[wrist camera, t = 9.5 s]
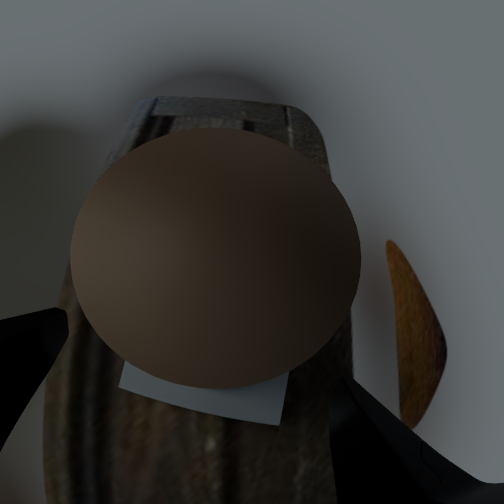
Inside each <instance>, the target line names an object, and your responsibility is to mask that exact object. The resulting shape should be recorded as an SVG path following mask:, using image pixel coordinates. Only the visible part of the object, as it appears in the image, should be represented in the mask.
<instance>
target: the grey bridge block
mask: <svg viewBox="0 0 504 504" xmlns="http://www.w3.org/2000/svg"><path fill="white" fill-rule="evenodd" d="M288 375H289V371H288V372H286V373H284V374H282V375H280V376H278V377H275V378H273V379H271V380H267V381H264V382H260V383H257V384H253V385H250V386H244V387H236V388H228V389H207V388H195V387H189V386H184V385H179V384H174V383H171V382H168V381H165V380H163V379H160V378H157V377H154V376H152V375H150V374H148V373H146V372H144V371H142V370H140V369H138V368H137V367H135V366H133V365H131V364H130V363H129V362H127V361H126V360H125V364H124V368H123V372H122V376H121V380H120V384H119V387H120V388H123V389H126V390H128V391H131V392H134V393H137V394H140V395H143V396H146V397H149V398H153V399H156V400H159V401H163V402H166V403H169V404H173V405H177V406H180V407H184V408H188V409H192V410H196V411H200V412H205V413H209V414H214V415H218V416H223V417H228V418H234V419H239V420H245V421H251V422H257V423H264V424H271V425H279V424H280V419H281V414H282V408H283V403H284V397H285V392H286V386H287V381H288Z"/></svg>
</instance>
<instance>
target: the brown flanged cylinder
mask: <svg viewBox="0 0 504 504" xmlns="http://www.w3.org/2000/svg"><path fill="white" fill-rule="evenodd" d="M360 269H361V249H360V240H359V236H358V231H357V227H356V224H355V221H354V218H353V216H352V213H351V210H350V208H349V207H348V205H347V203H346V201H345V199H344V197H343V196H342V194H341V193H340V191H339V190H338V188H337V187H336V185H335V184H334V183H333V182H332V181H331V179H330V178H329V177H328V176H327V175H326V174H325V173H324V172H323V171H322V170H321V169H320V168H319V167H318V166H317V165H316V164H315V163H313V162H312V161H311V160H309V159H308V158H307V157H305V156H304V155H303V154H301V153H300V152H298V151H296V150H294V149H293V148H291V147H289V146H288V145H285V144H283V143H281V142H279V141H277V140H275V139H272V138H269V137H266V136H263V135H260V134H257V133H252V132H248V131H244V130H237V129H230V128H198V129H191V130H184V131H180V132H176V133H171V134H168V135H165V136H162V137H159V138H156V139H154V140H152V141H150V142H147V143H145V144H143V145H141V146H139V147H138V148H136V149H134V150H133V151H131V152H129V153H128V154H126V155H125V156H124V157H122V158H121V159H120V160H118V161H117V162H116V163H115V164H114V165H112V166H111V167H110V168H109V169H108V170H107V171H106V172H105V173H104V174H103V175H102V177H101V178H100V179H99V180H98V181H97V183H96V184H95V185H94V187H93V188H92V190H91V191H90V193H89V194H88V196H87V197H86V199H85V201H84V203H83V205H82V207H81V210H80V212H79V214H78V217H77V220H76V224H75V227H74V230H73V236H72V242H71V272H72V279H73V284H74V288H75V291H76V294H77V298H78V301H79V303H80V305H81V307H82V309H83V311H84V313H85V316H86V318H87V319H88V321H89V322H90V324H91V325H92V327H93V328H94V330H95V331H96V332H97V334H98V335H99V336H100V337H101V338H102V340H103V341H104V342H105V343H106V344H107V345H108V346H109V347H110V348H111V349H112V350H113V351H114V352H115V353H117V354H118V355H119V356H121V357H122V358H123V359H125V360H126V361H127V362H129V363H130V364H131V365H133V366H135V367H137V368H138V369H140V370H142V371H144V372H146V373H148V374H150V375H152V376H154V377H157V378H160V379H163V380H165V381H168V382H171V383H174V384H179V385H184V386H189V387H195V388H207V389H228V388H236V387H244V386H250V385H253V384H257V383H260V382H264V381H267V380H271V379H273V378H275V377H278V376H280V375H282V374H284V373H286V372H288V371H291V370H293V369H294V368H296V367H297V366H299V365H300V364H302V363H303V362H305V361H306V360H308V359H309V358H311V357H312V356H313V355H314V354H315V353H317V352H318V351H319V350H320V349H321V348H322V347H323V346H324V345H325V344H326V343H327V342H328V341H329V340H330V339H331V337H332V336H333V335H334V334H335V332H336V331H337V330H338V329H339V327H340V326H341V324H342V322H343V321H344V319H345V317H346V316H347V314H348V312H349V310H350V308H351V305H352V303H353V300H354V297H355V295H356V292H357V287H358V283H359V278H360Z"/></svg>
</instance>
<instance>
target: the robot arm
mask: <svg viewBox="0 0 504 504" xmlns="http://www.w3.org/2000/svg"><path fill="white" fill-rule="evenodd" d="M68 335H69V328H68V319H67V313H66V311H64V310H62V309H60V308H57V307H54V308H50V309H45V310H41V311H37V312H33V313H28V314H24V315H20V316H16V317H11V318H7V319H3V320H0V451H1V449H2V447H3V446H4V444H5V442H6V440H7V438H8V436H9V435H10V433H11V431H12V429H13V428H14V426H15V424H16V422H17V421H18V419H19V417H20V416H21V414H22V412H23V411H24V409H25V408H26V406H27V404H28V403H29V401H30V399H31V398H32V396H33V395H34V393H35V392H36V390H37V389H38V387H39V386H40V384H41V382H42V381H43V380H44V378H45V377H46V375H47V374H48V372H49V370H50V369H51V367H52V365H53V363H54V361H55V360H56V358H57V356H58V354H59V352H60V350H61V349H62V347H63V345H64V343H65V342H66V340H67V338H68ZM329 428H330V446H331V454H332V461H333V469H334V477H335V485H336V494H337V503H338V504H504V483H497V484H495V483H486V482H482V481H479V480H478V479H476V478H474V477H473V476H471V475H469V474H468V473H467V472H465V471H464V470H462V469H461V468H459V467H458V466H456V465H455V464H453V463H452V462H450V461H449V460H448V459H446V458H445V457H443V456H442V455H441V454H439V453H438V452H437V451H436V450H434V449H433V448H432V447H431V446H429V445H428V444H427V443H426V442H425V441H423V440H422V439H421V438H420V437H419V436H418V435H417V434H415V433H414V432H413V431H412V430H411V429H410V428H408V427H407V426H406V425H405V424H404V423H403V422H401V421H400V420H399V419H398V418H397V417H396V416H395V415H393V414H392V413H391V412H390V411H389V410H388V409H387V408H385V407H384V406H383V405H382V404H381V403H380V402H379V401H378V400H376V399H375V398H374V397H373V396H372V395H371V394H369V392H367V391H366V390H365V389H364V388H363V387H362V386H361V385H360V384H358V383H357V382H356V381H355V380H354V379H353V378H348V377H341V378H339V379H338V381H337V383H336V385H335V387H334V389H333V391H332V392H331V394H330V397H329Z"/></svg>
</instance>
